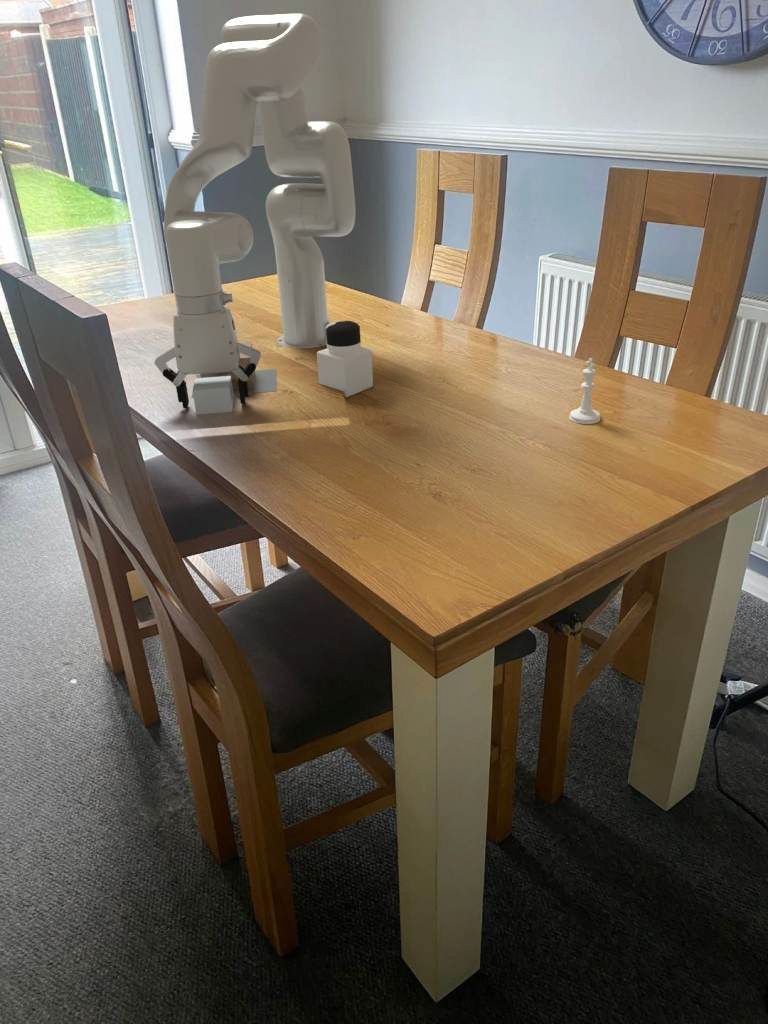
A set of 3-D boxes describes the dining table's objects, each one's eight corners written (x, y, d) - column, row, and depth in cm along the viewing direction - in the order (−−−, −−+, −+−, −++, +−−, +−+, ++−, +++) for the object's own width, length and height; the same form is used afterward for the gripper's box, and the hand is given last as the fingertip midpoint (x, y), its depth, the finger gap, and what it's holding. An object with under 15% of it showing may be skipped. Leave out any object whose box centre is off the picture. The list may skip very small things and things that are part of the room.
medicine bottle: (374, 387, 143) (371, 322, 138) (346, 398, 139) (342, 331, 133) (346, 378, 148) (342, 315, 142) (318, 389, 143) (313, 324, 137)
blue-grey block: (234, 405, 138) (230, 375, 135) (233, 418, 133) (229, 388, 130) (200, 408, 138) (195, 378, 135) (197, 421, 132) (192, 390, 130)
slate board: (276, 374, 151) (276, 368, 150) (277, 397, 140) (276, 391, 140) (197, 380, 149) (196, 374, 149) (192, 404, 139) (191, 397, 138)
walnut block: (255, 373, 149) (251, 342, 146) (254, 389, 141) (250, 357, 138) (206, 376, 148) (202, 345, 145) (203, 393, 140) (198, 361, 137)
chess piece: (582, 426, 125) (588, 366, 120) (562, 416, 129) (567, 357, 124) (606, 420, 127) (613, 360, 122) (586, 410, 131) (592, 351, 126)
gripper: (254, 293, 130) (265, 391, 138) (148, 300, 128) (165, 399, 137) (254, 305, 123) (265, 407, 132) (141, 312, 122) (160, 415, 130)
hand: (214, 403), depth 134 cm, fingers open, 9 cm apart
